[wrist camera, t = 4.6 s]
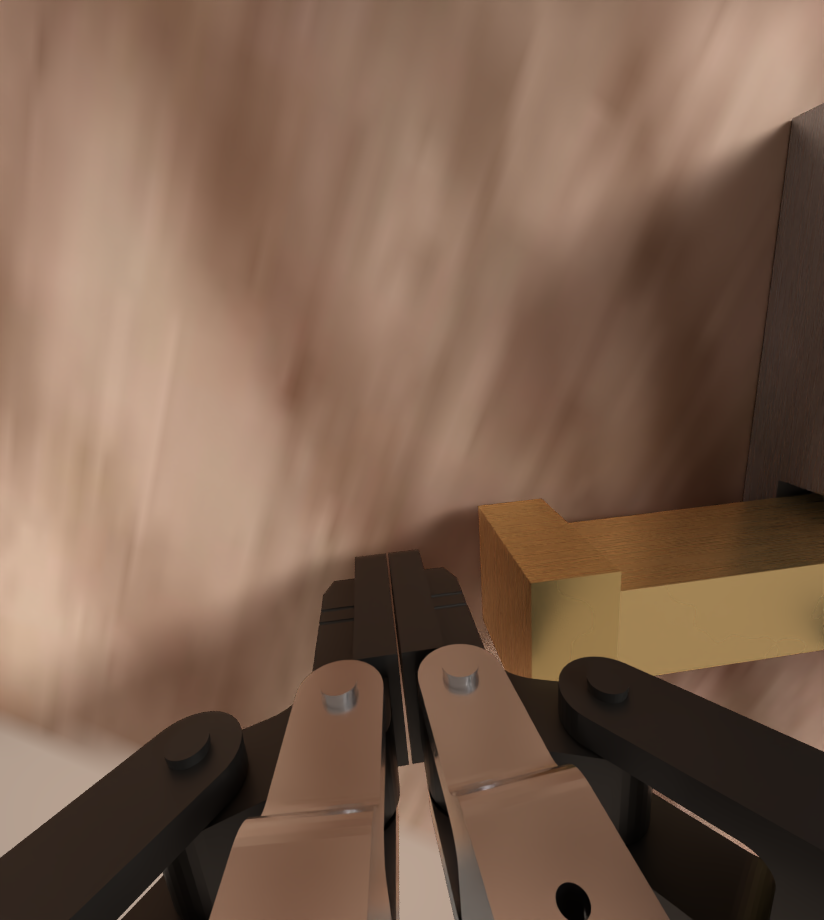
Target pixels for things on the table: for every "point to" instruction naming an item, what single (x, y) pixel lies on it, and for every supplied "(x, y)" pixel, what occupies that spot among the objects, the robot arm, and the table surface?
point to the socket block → (794, 333)
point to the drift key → (653, 585)
